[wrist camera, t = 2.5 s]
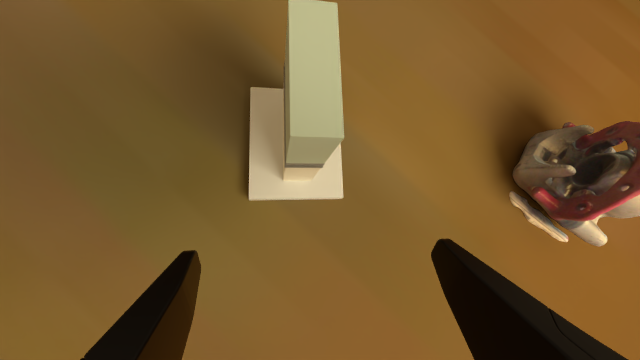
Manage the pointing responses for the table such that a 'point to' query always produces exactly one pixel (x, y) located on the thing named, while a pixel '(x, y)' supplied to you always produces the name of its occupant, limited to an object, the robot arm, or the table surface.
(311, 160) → the pale green block
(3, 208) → the table surface
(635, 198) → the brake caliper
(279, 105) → the cream stepped block
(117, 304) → the table surface
